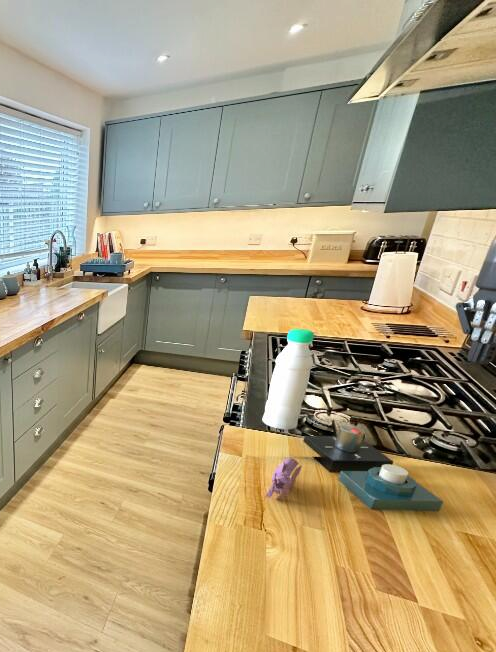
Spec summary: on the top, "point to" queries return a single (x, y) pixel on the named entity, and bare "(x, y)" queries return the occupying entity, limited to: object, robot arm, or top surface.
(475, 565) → the top surface
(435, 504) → the button base
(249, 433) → the top surface
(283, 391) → the white milk bottle
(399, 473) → the white push button
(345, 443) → the lock knob
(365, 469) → the lock base
